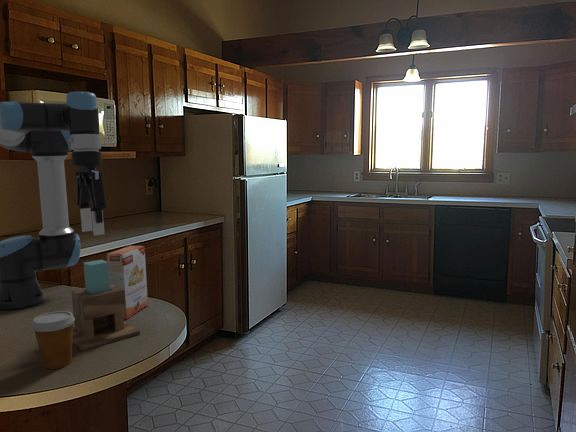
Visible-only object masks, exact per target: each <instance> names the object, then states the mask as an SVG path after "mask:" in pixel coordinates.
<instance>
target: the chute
mask: <svg viewBox="0 0 576 432" xmlns="http://www.w3.org/2000/svg"><path fill="white" fill-rule="evenodd" d="M71 300H72V301H71V302H72V311H73V313H72V314H73V317H75V320H74V323H73V325H74V327H73V341H72V344H74V345H75V346H76V347H77V348H78V349H79V350H80V351H82V352H83V351H85V350H90V349H93V348H97V347H101V346H104V345H106V344H111V343H115V342H118V341H121V340H125V339H129V338H133V337H135V336H139V335H141V331H140V329H137V328H136V327H134V326H132V325H131V324H130V323H127V321H125V319H124V317H123V311H126V300H125V290H124V289H122V288H120V287H118V286H116V285H114V284H112V283H110V291H106V292H101V293H96V294H91V295H90V294H89V293H87V292H86V287H81V288H77V289H72V290H71Z"/></svg>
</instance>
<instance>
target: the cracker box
mask: <svg viewBox="0 0 576 432" xmlns="http://www.w3.org/2000/svg"><path fill="white" fill-rule="evenodd" d="M106 262H108V271H109V283H112V284H114V285H116V286H118V287H120V288H122V289H124V290H125V300H126V311H123V317H124V320H128V319H129V318H131V317H132V316H134V315H135V313H136V314H137V313H138V311H139V312H140V311H142V310H143V308H144V307H145V308H147V307H148V306H149V303H148V302H149V301H148V299H149V298H148V285H147V283H148V281H147V269H146V268H147V266H146V247H145V246H143V245H128V246H126V247H123V248H120V249H118V250H113V251H112V252H109V253H106ZM147 305H148V306H147ZM146 306H147V307H146ZM145 308H144V309H145ZM141 309H142V310H141Z"/></svg>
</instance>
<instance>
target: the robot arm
mask: <svg viewBox="0 0 576 432" xmlns="http://www.w3.org/2000/svg"><path fill="white" fill-rule="evenodd" d="M99 124H100V123H99V105H98V100H97V96H96V94H95V93H93V92H89V91H70V92H68V93H67V94H66V102H65V103H60V102H59V103H57V102H29V101H28V102H27V101H25V102H24V101H16V100H11V101H0V147H2V148H3V149H6V150H10V151H15V152H21V153H22V152H30V154H31V158H33V160H35V161H36V164H37V173H38V174H37V175H38V185H39V187H38V188H39V199H40V200H39V201H40V209H41V221H42V229H41V230H40V231H39V232H38V238H34V237H33V236H32V235H29V234H27V235H20V236H13V237H10V238H6V239H3V240H1V241H0V310H3V311H5V310H6V311H7V310H18V309H25V308H29V307H32V306H33V307H34V306H35V305H38V304H41V303H42V302H44V301H45V293H44V291H43V289H42V287H41V285H40V284H39V281H38V279H37V272H42V271H46V270H53V269H61V268H63V269H64V268H65V269H66V268H68V267H72V266H75V265H76V264H77V263H78V262H79V260H80V257H81V247H82V246H81V239H80V236H79V235H78V233H75V230H74V229H73V228H72V227H70V222H69V211H68V209H69V207H68V195H67V186H66V185H67V184H66V183H67V182H66V173H65V172H66V170H65V169H66V168H65V160H66V159H67V158H68V157H69V152H71V151H72V152H71V153H70V154H71V155H70V156H71V165H73V166H79V170H78V171H75V172H74V174H75V180H76V182H75V183H76V186H75V187H76V206H77V207H78V208H79V209H80V212H79V213H80V221H81V232H82V233H84V232H92V233H93V236H100V235H101V236H102V235H105V234H106V233H105V232H106V231H105V223H104V209H106V208H107V204H106V199H105V192H104V185H103V178H102V177H103V175H102V174H103V173H102V171H101V170H100V171H98V170H97V166H101V165H102V164H103V159H102V158H103V157H102V152H101V151H100V149H102V145H101V144H102V143H101V134H100V125H99Z"/></svg>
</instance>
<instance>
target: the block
mask: <svg viewBox="0 0 576 432" xmlns="http://www.w3.org/2000/svg"><path fill="white" fill-rule="evenodd" d="M83 273H84V285H85V287H84V288H86V292H87V293H89V294H90V295H91V294H96V293H101V292H106V291H110V283H109V271H108V262H107V260H104V259H98V260H91V261H85V262H83Z"/></svg>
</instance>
